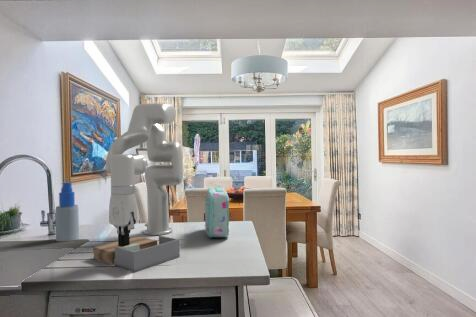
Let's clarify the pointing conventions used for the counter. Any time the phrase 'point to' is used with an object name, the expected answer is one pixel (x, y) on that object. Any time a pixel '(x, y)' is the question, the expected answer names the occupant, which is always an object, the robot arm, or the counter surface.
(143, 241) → the tan wooden board
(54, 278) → the counter surface
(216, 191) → the lunch box
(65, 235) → the spray bottle
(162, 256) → the box
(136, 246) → the sage tile
